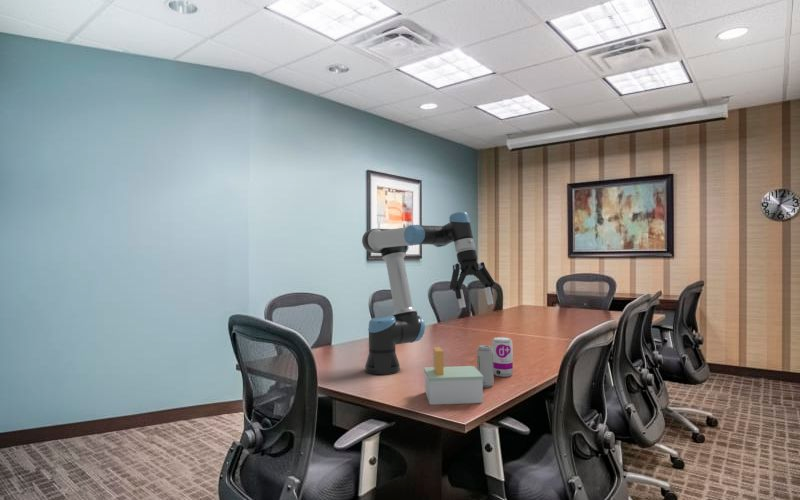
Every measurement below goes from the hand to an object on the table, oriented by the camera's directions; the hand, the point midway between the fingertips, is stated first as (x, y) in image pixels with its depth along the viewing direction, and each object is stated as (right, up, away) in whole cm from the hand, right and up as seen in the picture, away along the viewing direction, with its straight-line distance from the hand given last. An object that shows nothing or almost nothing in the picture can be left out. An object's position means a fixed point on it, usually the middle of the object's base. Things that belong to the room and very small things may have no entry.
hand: (477, 306), depth 170 cm
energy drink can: (+4, -31, +4) cm, 32 cm away
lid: (-10, -24, -10) cm, 28 cm away
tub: (-10, -31, -10) cm, 34 cm away
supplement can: (+14, -31, +19) cm, 39 cm away
